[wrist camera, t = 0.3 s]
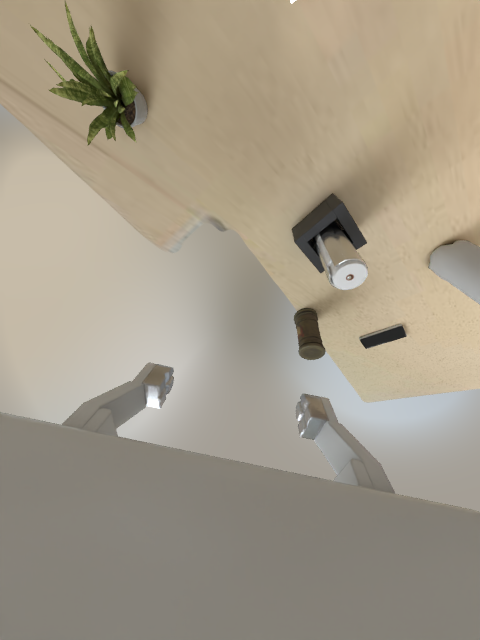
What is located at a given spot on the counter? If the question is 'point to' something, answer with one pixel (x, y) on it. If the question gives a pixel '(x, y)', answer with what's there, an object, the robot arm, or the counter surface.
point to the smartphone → (383, 336)
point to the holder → (319, 221)
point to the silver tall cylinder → (340, 258)
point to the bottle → (459, 266)
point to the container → (308, 334)
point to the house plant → (99, 88)
